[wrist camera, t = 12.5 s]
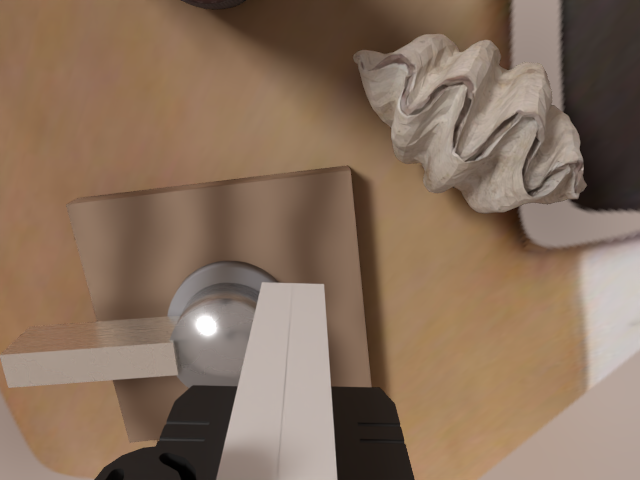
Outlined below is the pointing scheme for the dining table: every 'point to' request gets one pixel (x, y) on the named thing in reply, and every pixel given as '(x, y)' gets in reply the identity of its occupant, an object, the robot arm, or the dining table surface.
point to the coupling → (142, 345)
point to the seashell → (475, 123)
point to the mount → (222, 263)
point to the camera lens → (214, 3)
